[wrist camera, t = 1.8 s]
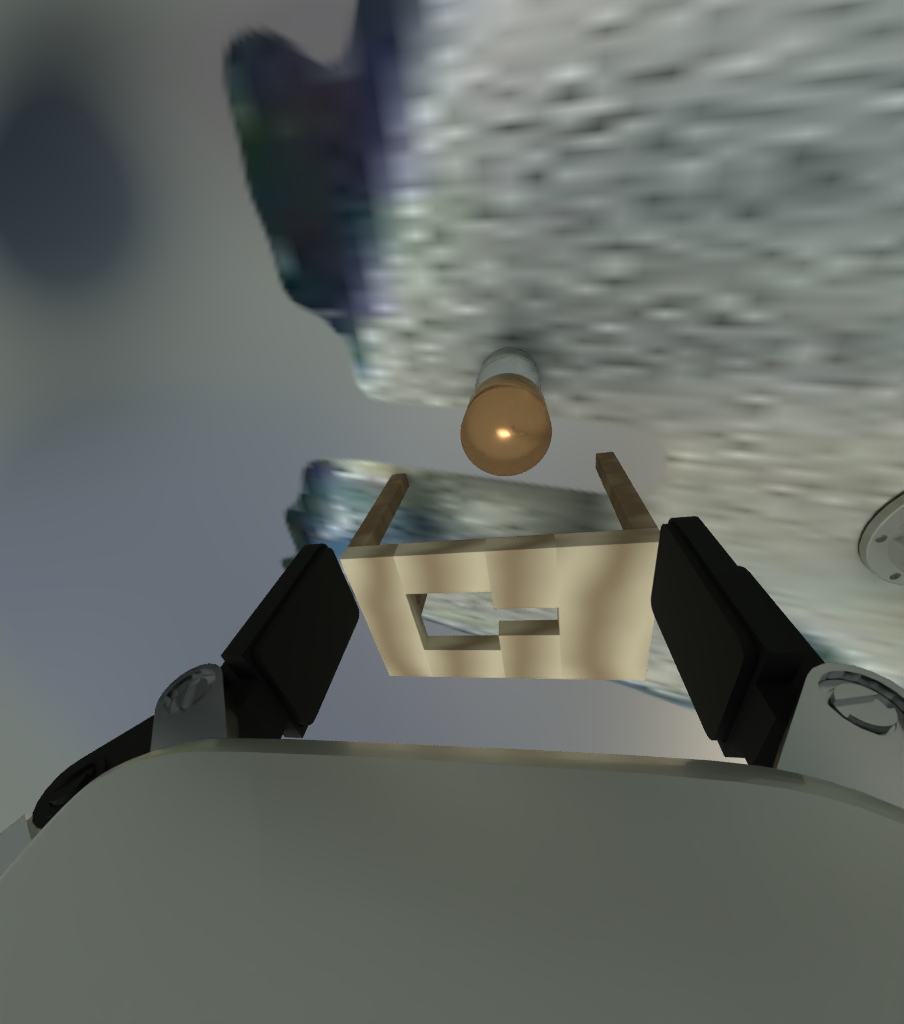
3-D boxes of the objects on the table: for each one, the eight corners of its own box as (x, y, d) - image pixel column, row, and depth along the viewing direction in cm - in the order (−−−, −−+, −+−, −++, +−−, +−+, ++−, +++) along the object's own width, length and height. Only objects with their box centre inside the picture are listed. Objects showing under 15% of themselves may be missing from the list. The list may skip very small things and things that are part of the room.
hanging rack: (613, 451, 34) (666, 541, 22) (607, 566, 41) (644, 680, 29) (392, 475, 39) (339, 559, 27) (421, 574, 46) (389, 675, 34)
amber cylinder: (535, 342, 30) (549, 382, 18) (538, 403, 33) (553, 471, 21) (475, 353, 31) (453, 396, 19) (483, 410, 34) (467, 479, 22)
